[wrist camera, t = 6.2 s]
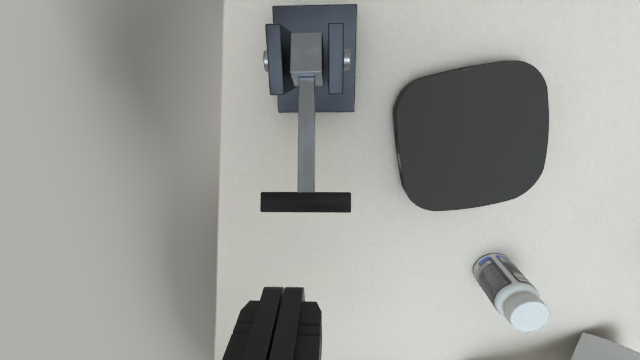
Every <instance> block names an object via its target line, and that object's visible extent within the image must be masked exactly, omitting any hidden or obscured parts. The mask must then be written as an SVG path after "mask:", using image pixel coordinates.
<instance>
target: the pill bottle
mask: <svg viewBox="0 0 640 360" xmlns="http://www.w3.org/2000/svg"><path fill="white" fill-rule="evenodd" d="M473 273H474V277H475V279H476V280H477V282H478V283H479V285H480V286H481V287H482V289H483V291H484V292H485V293H486V295H487V296H488V298H489V299H490V301H491V302H492V304H493V305H494V307H495V309H496V310H497V311H498V312H499V313H500V314H501V315H502V316H504V317H506V319H507V320H508V321H509V323H510V324H511V325H512V327H513V328H515V329H516V330H518V331H521V332H533V331H536V330H538V329H540V328H542V327H543V326H544V325H545V324H546V323H547V322H548V320H549V317H550V312H549V309H548V307H547V306H546V305H545V304H544V302H543V301H542V300H541V299H540V295H539V293H538V291H537V289H536V288H535V287H534V286H533V285H532V284H531V283H530V282H529V281H528V280H527V279H526V278H525V276H524V275H523V274H522V273H521V272H520V271H519V270H518V269H517V268H516V267H515V265H514V264H513V263H512V262H511V261H510V260H509V259H508V258H507V257H505V256H503V255H501V254H489V255H486V256H484V257H482V258H480V259H479V260H478V261H477V262H476V264H475V266H474V271H473Z"/></svg>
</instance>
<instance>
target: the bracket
mask: <svg viewBox="0 0 640 360" xmlns="http://www.w3.org/2000/svg"><path fill="white" fill-rule="evenodd" d="M272 8H273V24H266V25H265V27H266V42H267V51H264V67H265V70H266V71H267V72H269V88H270V95H278V111H279V113H283V112H299V86H294V84H293V81H292V78H291V75H290V34H291V33H322V34H323V48H324V84H323V86H315V112H354V103H355V60H356V18H357V4H345V5H301V6H273V7H272Z"/></svg>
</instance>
